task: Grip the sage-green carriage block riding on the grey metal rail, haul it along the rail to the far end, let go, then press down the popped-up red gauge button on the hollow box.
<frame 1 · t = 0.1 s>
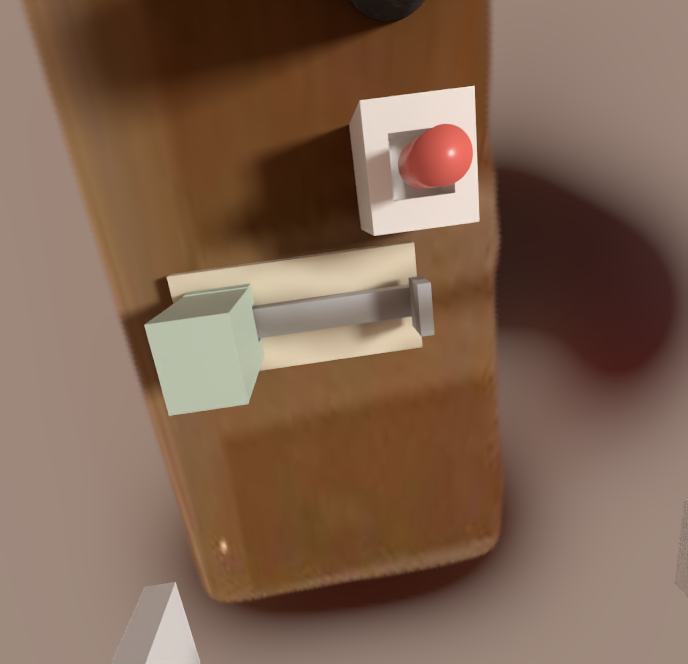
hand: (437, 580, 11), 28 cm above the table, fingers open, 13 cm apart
gauge button: (432, 160, 25), point 10 cm above the table, slide at 0.0 cm
rail: (300, 309, 37), on the table
carriage: (214, 342, 31), point 7 cm above the table, slide at 0.0 cm
hollow box: (398, 172, 35), on the table
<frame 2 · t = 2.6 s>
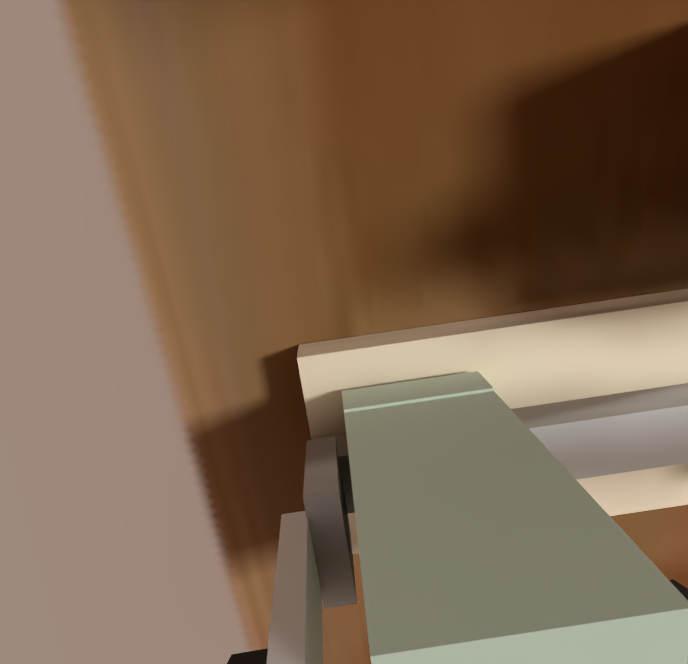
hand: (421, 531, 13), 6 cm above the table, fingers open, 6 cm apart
rail: (549, 410, 18), on the table
carriage: (453, 550, 12), point 7 cm above the table, slide at -0.1 cm, touching gripper
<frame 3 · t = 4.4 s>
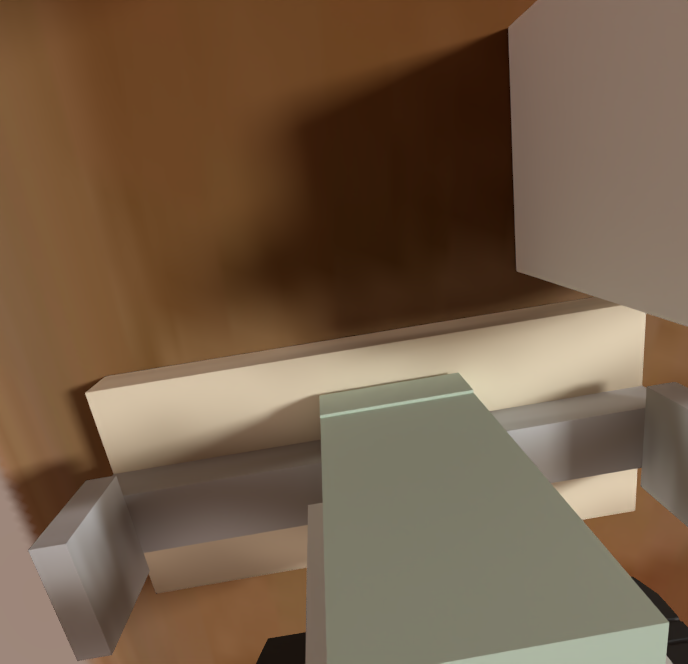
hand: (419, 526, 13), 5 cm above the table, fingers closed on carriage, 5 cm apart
rail: (379, 436, 18), on the table
carriage: (431, 559, 12), point 7 cm above the table, slide at 6.5 cm, touching gripper
hollow box: (609, 143, 15), on the table
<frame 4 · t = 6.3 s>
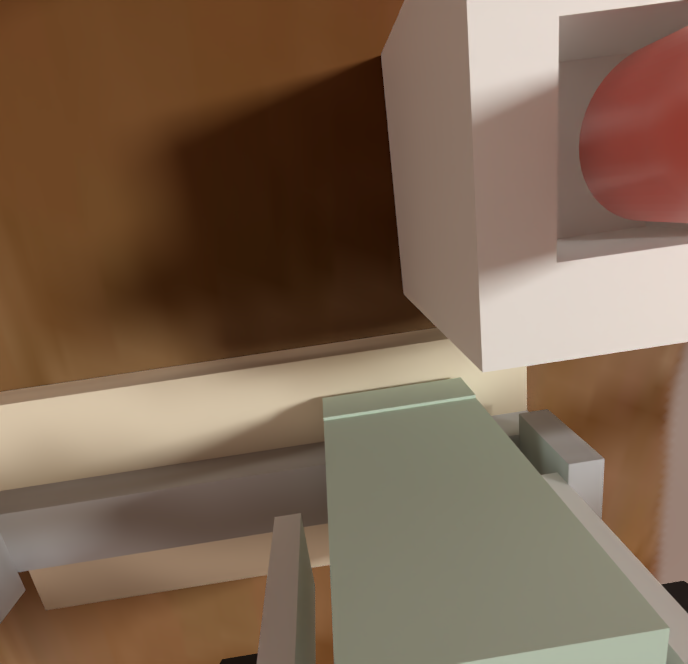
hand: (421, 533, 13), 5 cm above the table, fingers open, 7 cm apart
rail: (274, 456, 18), on the table
carriage: (433, 562, 12), point 7 cm above the table, slide at 10.9 cm
hollow box: (490, 170, 15), on the table
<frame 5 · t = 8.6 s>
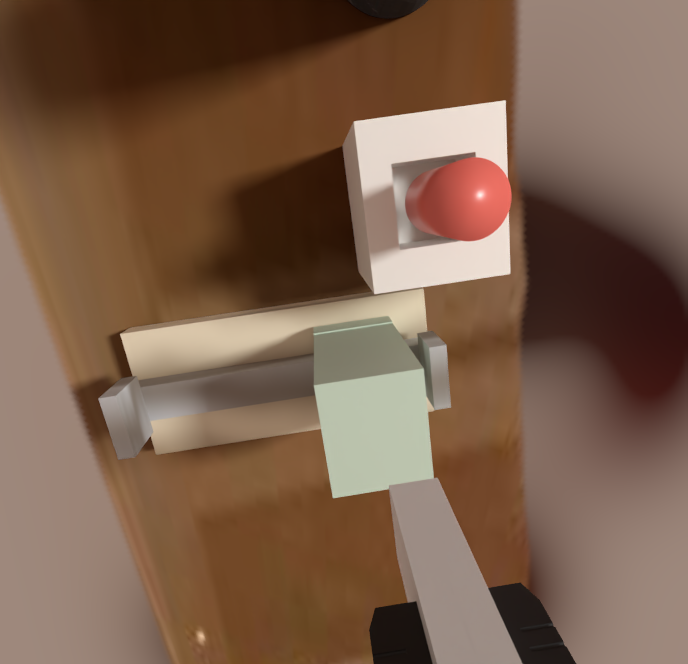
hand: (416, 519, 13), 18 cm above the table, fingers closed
gauge button: (451, 201, 18), point 10 cm above the table, slide at 0.0 cm
rail: (286, 366, 31), on the table
carriage: (365, 393, 25), point 7 cm above the table, slide at 10.9 cm
hollow box: (403, 203, 28), on the table
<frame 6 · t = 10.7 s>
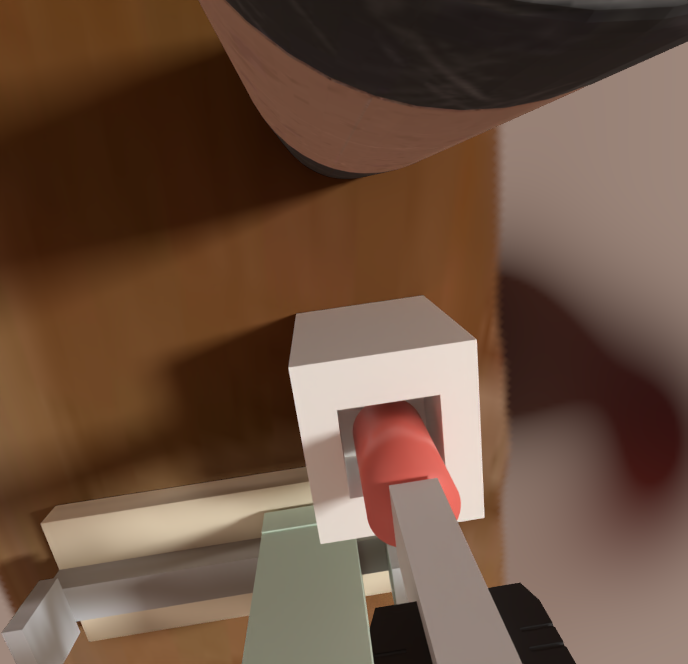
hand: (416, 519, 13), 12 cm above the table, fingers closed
gauge button: (398, 463, 16), point 9 cm above the table, slide at 1.2 cm, touching gripper
rail: (238, 539, 27), on the table
carriage: (316, 623, 21), point 7 cm above the table, slide at 10.9 cm
travel mug: (344, 101, 21), on the table
hollow box: (368, 372, 25), on the table
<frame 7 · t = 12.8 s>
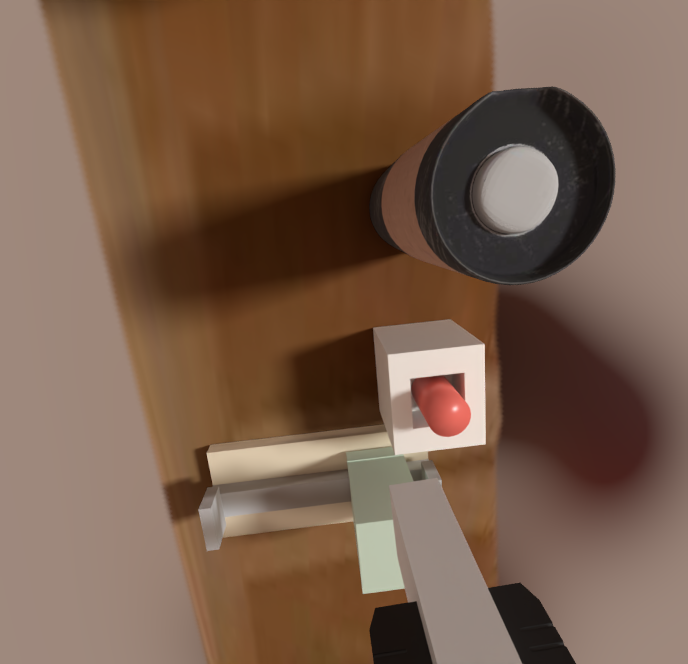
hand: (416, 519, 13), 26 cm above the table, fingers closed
gauge button: (438, 401, 32), point 8 cm above the table, slide at 2.2 cm
rail: (322, 474, 42), on the table
carriage: (383, 512, 35), point 7 cm above the table, slide at 10.9 cm
travel mug: (410, 206, 36), on the table
hollow box: (414, 365, 39), on the table
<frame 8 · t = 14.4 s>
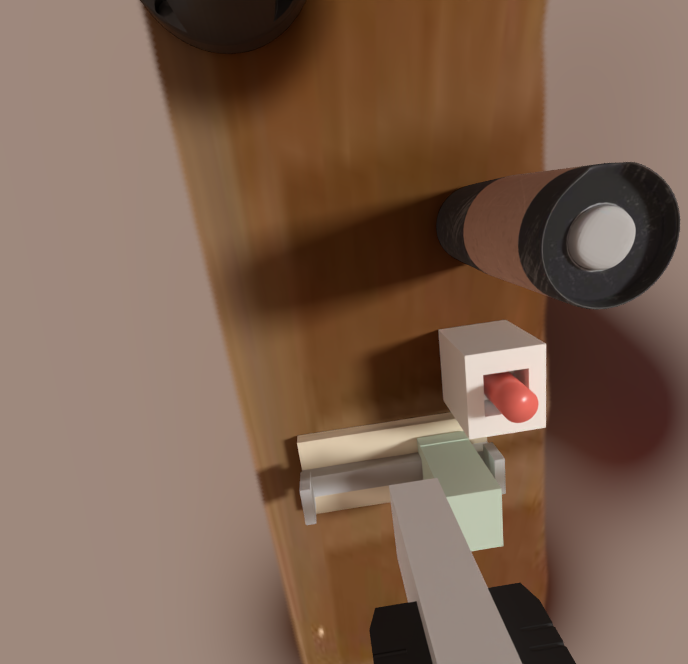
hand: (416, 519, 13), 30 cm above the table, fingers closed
gauge button: (507, 393, 37), point 8 cm above the table, slide at 2.2 cm
rail: (393, 457, 48), on the table
carriage: (456, 487, 42), point 7 cm above the table, slide at 10.9 cm
travel mug: (471, 223, 41), on the table
hollow box: (473, 361, 45), on the table
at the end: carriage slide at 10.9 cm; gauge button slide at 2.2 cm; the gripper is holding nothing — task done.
